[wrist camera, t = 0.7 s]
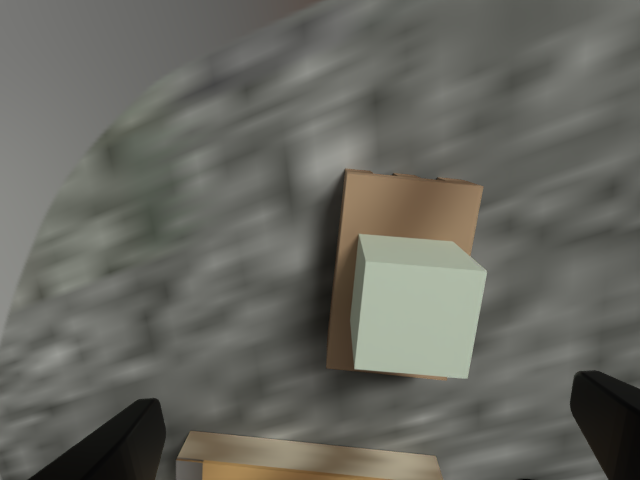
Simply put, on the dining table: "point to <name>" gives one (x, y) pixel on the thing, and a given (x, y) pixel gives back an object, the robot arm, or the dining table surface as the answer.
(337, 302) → the walnut pallet
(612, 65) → the dining table surface
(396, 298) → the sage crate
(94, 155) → the dining table surface
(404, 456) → the birch dock
